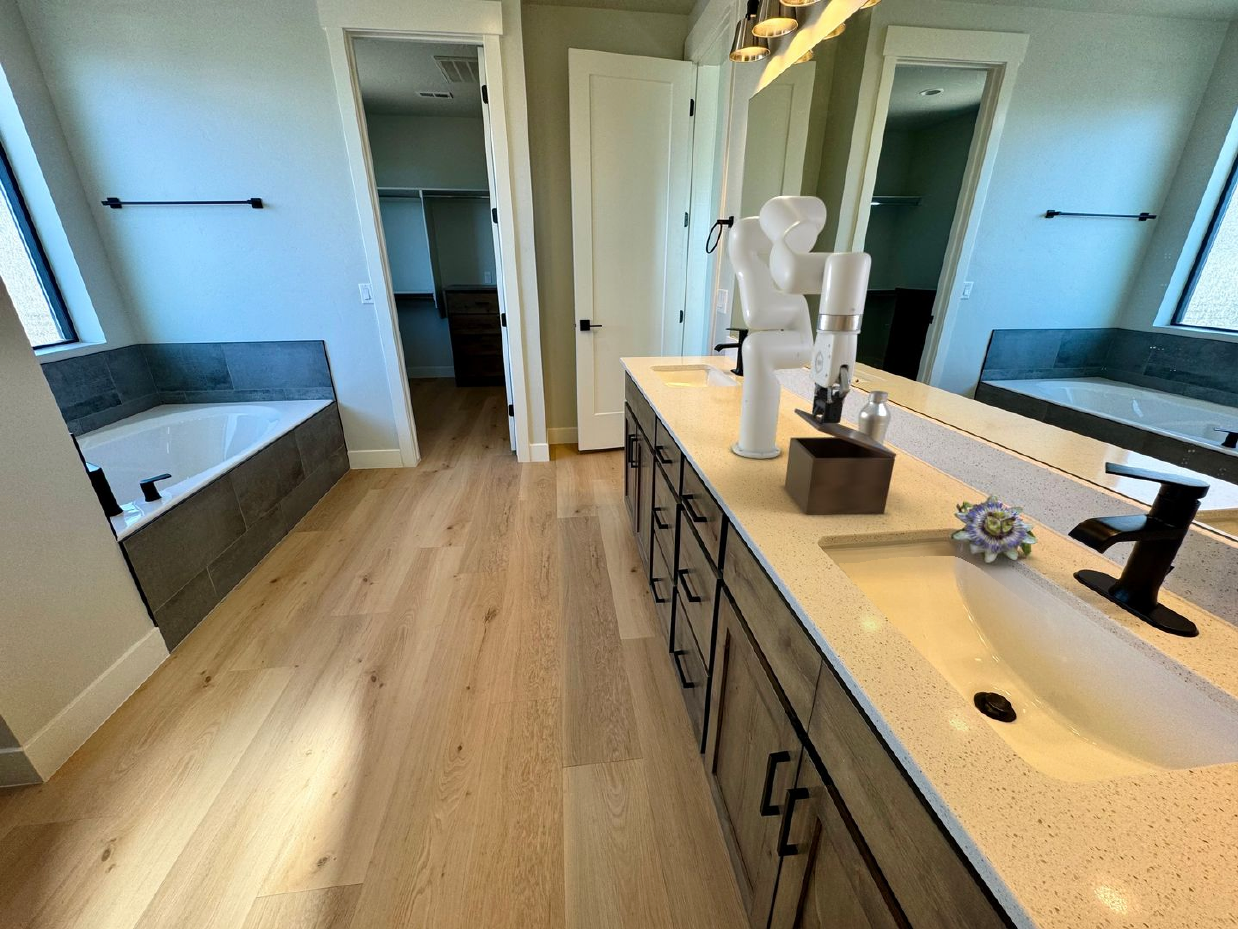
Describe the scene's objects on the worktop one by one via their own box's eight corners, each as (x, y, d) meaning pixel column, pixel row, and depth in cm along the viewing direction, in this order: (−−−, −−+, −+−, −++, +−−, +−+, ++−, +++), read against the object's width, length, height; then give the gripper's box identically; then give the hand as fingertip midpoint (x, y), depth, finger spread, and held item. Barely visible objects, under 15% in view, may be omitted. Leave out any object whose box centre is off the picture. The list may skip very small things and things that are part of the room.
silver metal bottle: (883, 481, 113) (900, 396, 106) (852, 479, 114) (866, 395, 107) (875, 471, 119) (891, 389, 111) (846, 469, 120) (859, 388, 113)
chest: (805, 514, 98) (813, 459, 94) (784, 487, 111) (790, 437, 107) (884, 513, 98) (895, 458, 94) (853, 486, 111) (862, 436, 106)
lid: (817, 430, 92) (830, 406, 90) (793, 411, 104) (804, 389, 103) (894, 458, 94) (908, 434, 92) (861, 436, 106) (873, 415, 105)
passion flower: (979, 588, 83) (951, 540, 80) (957, 546, 92) (931, 501, 89) (1059, 566, 78) (1033, 513, 74) (1027, 524, 87) (1002, 474, 83)
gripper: (803, 320, 99) (793, 407, 106) (837, 329, 83) (822, 431, 90) (840, 319, 99) (827, 407, 106) (881, 328, 83) (863, 431, 90)
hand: (825, 417), depth 98 cm, fingers closed on lid, 5 cm apart
